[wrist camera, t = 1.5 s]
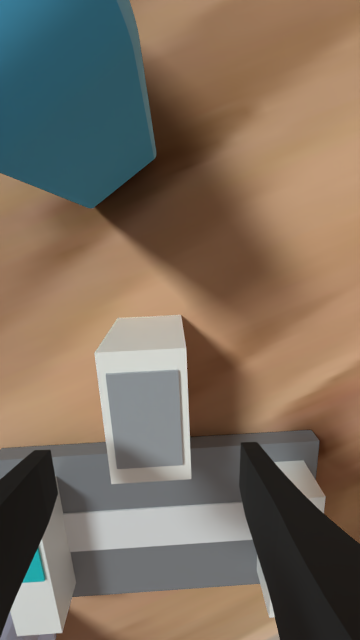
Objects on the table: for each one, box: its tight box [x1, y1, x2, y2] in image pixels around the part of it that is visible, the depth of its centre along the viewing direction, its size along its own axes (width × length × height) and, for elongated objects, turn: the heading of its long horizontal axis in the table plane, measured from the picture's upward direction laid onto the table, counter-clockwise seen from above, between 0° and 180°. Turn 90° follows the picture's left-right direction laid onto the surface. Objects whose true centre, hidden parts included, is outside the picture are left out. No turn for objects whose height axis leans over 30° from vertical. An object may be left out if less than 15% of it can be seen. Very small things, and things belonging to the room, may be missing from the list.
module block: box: [95, 315, 191, 484], centre depth 17 cm, size 4×7×6 cm, turn 2°
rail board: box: [0, 430, 326, 636], centre depth 20 cm, size 22×13×4 cm, turn 92°
